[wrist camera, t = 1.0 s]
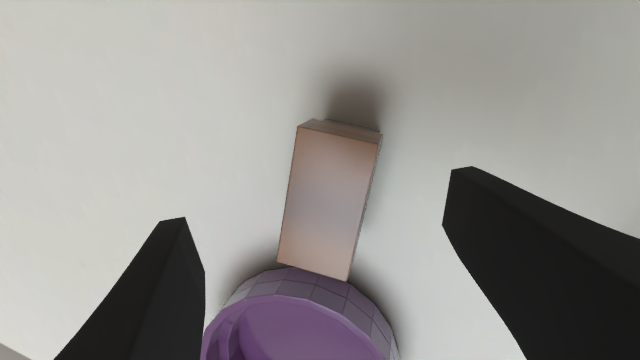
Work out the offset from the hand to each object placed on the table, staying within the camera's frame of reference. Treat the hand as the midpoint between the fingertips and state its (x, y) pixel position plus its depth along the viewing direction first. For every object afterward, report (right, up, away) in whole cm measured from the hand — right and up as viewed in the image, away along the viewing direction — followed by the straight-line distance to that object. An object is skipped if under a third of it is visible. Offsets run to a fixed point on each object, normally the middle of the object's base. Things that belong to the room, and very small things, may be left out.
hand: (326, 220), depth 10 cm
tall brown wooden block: (+1, +1, +15) cm, 15 cm away
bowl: (-1, -12, +19) cm, 23 cm away
